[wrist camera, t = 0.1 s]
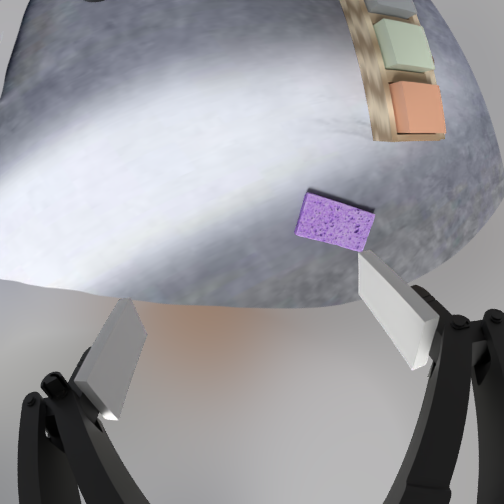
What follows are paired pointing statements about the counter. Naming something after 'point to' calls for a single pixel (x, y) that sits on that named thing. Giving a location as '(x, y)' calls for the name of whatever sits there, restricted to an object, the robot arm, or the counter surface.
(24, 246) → the counter surface
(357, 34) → the key panel
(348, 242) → the sponges
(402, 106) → the terracotta key
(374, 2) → the grey key
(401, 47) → the sage key
